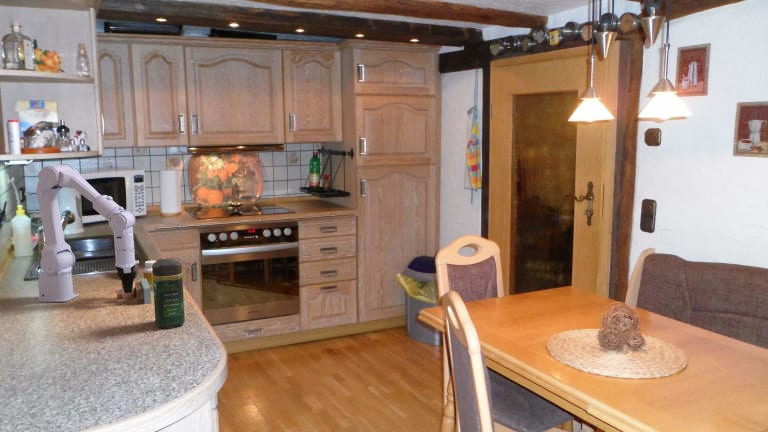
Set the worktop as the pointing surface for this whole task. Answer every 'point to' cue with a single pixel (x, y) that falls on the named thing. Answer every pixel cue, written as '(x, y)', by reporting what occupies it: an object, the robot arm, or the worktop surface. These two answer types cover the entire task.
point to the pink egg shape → (129, 295)
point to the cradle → (138, 298)
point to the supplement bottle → (149, 273)
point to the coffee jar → (168, 293)
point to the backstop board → (146, 291)
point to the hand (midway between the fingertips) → (127, 290)
